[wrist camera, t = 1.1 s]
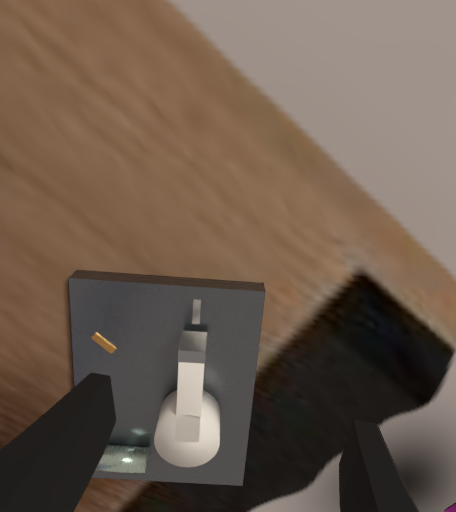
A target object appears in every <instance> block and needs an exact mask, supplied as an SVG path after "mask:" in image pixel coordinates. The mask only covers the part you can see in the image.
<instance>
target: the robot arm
mask: <svg viewBox="0 0 456 512" xmlns="http://www.w3.org/2000/svg"><path fill="white" fill-rule="evenodd" d="M115 423H116V413H115V406H114V399H113V392H112V385H111V378H110V376H109V375H103V374H97V373H92V372H91V373H90V374H88V375H87V376H86V377H85V378H84V379H83V380H82V381H81V382H80V383H78V384H77V385H76V386H75V387H74V388H73V389H72V390H71V391H70V392H69V393H67V394H66V395H65V396H64V397H63V398H62V399H61V400H60V401H59V402H57V403H56V404H55V405H54V406H53V407H52V408H51V409H49V410H48V411H47V412H46V413H45V414H44V415H42V416H41V417H40V418H39V419H38V420H37V421H35V422H34V423H33V424H32V425H31V426H30V427H28V428H27V429H26V430H25V431H24V432H22V433H21V434H20V435H19V436H17V437H16V438H15V439H14V440H12V441H11V442H10V443H9V444H7V445H6V446H5V447H4V448H2V449H1V450H0V512H74V510H75V508H76V506H77V504H78V502H79V500H80V498H81V496H82V494H83V493H84V491H85V489H86V487H87V485H88V483H89V481H90V479H91V477H92V475H93V473H94V471H95V469H96V468H97V466H98V464H99V462H100V460H101V458H102V456H103V454H104V451H105V449H106V446H107V444H108V441H109V439H110V436H111V433H112V431H113V428H114V426H115ZM339 491H340V510H341V512H419V511H418V509H417V507H416V505H415V503H414V501H413V499H412V497H411V495H410V494H409V492H408V490H407V488H406V486H405V484H404V482H403V480H402V478H401V476H400V473H399V471H398V469H397V467H396V465H395V463H394V461H393V459H392V456H391V454H390V452H389V450H388V448H387V445H386V443H385V441H384V438H383V436H382V434H381V431H380V429H379V427H378V426H377V425H376V424H374V423H368V422H363V421H357V420H353V423H352V426H351V429H350V432H349V435H348V438H347V441H346V444H345V447H344V451H343V454H342V457H341V460H340V463H339Z"/></svg>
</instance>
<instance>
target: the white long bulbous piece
mask: <svg viewBox="0 0 456 512" xmlns="http://www.w3.org/2000/svg"><path fill="white" fill-rule="evenodd" d="M207 334H208V332H199V331H184V330H182V335H181V340H180V344H179V349H178V362H179V364H178V386H177V390H176V391H174V392H172V393H171V394H169V395H168V396H167V397H166V398H165V400H164V401H163V403H162V406H161V410H160V414H159V419H158V423H157V427H156V432H155V436H154V444H155V448H156V450H157V452H158V454H159V455H160V456H161V457H162V458H163V459H164V460H165V461H167V462H169V463H171V464H173V465H176V466H180V467H196V466H200V465H203V464H205V463H207V462H208V461H210V460H211V459H212V458H213V457H214V456H215V455H216V453H217V451H218V449H219V445H220V407H219V405H218V402H217V401H216V399H215V398H214V397H213V396H212V395H211V394H209V393H208V392H206V391H204V390H203V381H204V367H205V359H206V347H207Z"/></svg>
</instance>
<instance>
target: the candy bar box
mask: <svg viewBox="0 0 456 512" xmlns="http://www.w3.org/2000/svg"><path fill="white" fill-rule="evenodd" d="M444 512H456V503H454V504H453V505H451V506H450V507H448V508H447V509H445V510H444Z"/></svg>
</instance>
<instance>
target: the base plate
mask: <svg viewBox="0 0 456 512" xmlns="http://www.w3.org/2000/svg"><path fill="white" fill-rule="evenodd" d="M69 294H70V313H71V331H72V350H73V368H74V387H75V386H76V385H77V384H78V383H80V382H81V381H82V380H83V379H84V378H85V377H86V376H87V375H88V374H90V373H91V372H92V373H97V374H103V375H109V376H110V378H111V385H112V392H113V399H114V406H115V413H116V423H115V426H114V428H113V431H112V433H111V436H110V439H109V441H108V444H107V446H106V449H105V451H104V454H103V456H102V458H101V460H100V462H99V464H98V466H97V468H96V469H95V471H94V473H93V475H92V477H91V478H109V479H128V480H146V481H165V482H184V483H202V484H221V485H239V486H242V485H243V477H244V468H245V460H246V451H247V443H248V435H249V426H250V418H251V409H252V401H253V392H254V384H255V375H256V367H257V359H258V350H259V342H260V333H261V325H262V316H263V308H264V300H265V288H264V284H263V283H254V282H240V281H226V280H211V279H197V278H183V277H169V276H155V275H140V274H126V273H112V272H98V271H84V270H76V271H75V272H74V273H73V274H72V275H71V276H70V277H69ZM182 330H184V331H199V332H208V334H207V347H206V359H205V367H204V381H203V390H204V391H206V392H208V393H209V394H211V395H212V396H213V397H214V398H215V399H216V401H217V402H218V405H219V407H220V445H219V449H218V451H217V453H216V455H215V456H214V457H213V458H212V459H211V460H210V461H208V462H207V463H205V464H203V465H200V466H196V467H180V466H176V465H173V464H171V463H169V462H167V461H165V460H164V459H163V458H162V457H161V456H160V455H159V454H158V452H157V450H156V448H155V444H154V436H155V432H156V427H157V423H158V419H159V414H160V410H161V406H162V403H163V401H164V400H165V398H166V397H167V396H168V395H169V394H171V393H172V392H174V391H176V390H177V386H178V364H179V362H178V349H179V344H180V340H181V335H182Z"/></svg>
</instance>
